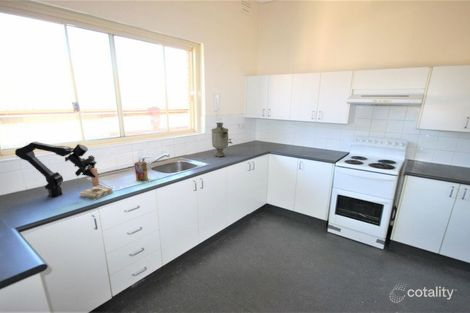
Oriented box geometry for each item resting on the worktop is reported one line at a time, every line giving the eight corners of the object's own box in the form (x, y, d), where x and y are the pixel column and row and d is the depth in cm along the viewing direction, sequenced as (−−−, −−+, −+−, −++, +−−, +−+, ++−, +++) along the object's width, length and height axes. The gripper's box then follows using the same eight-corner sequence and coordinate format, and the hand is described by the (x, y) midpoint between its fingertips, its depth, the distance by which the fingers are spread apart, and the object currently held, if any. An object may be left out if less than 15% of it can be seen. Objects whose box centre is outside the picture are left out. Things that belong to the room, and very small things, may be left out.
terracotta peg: (95, 186, 160) (92, 169, 157) (91, 185, 161) (88, 169, 158) (100, 184, 163) (98, 168, 161) (96, 183, 165) (94, 167, 162)
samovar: (235, 159, 267) (236, 124, 257) (213, 159, 262) (212, 124, 252) (230, 153, 295) (231, 121, 286) (210, 153, 290) (209, 121, 280)
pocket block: (95, 199, 155) (94, 195, 154) (80, 196, 160) (80, 192, 159) (112, 192, 168) (112, 188, 167) (98, 189, 173) (98, 185, 172)
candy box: (147, 178, 198) (146, 161, 195) (147, 179, 194) (145, 162, 191) (136, 178, 196) (135, 161, 193) (135, 180, 192) (134, 162, 188)
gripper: (77, 156, 147) (98, 172, 151) (92, 149, 165) (110, 164, 169) (66, 168, 148) (86, 183, 152) (81, 160, 166) (99, 174, 170)
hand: (96, 176), depth 161 cm, fingers closed on terracotta peg, 4 cm apart
